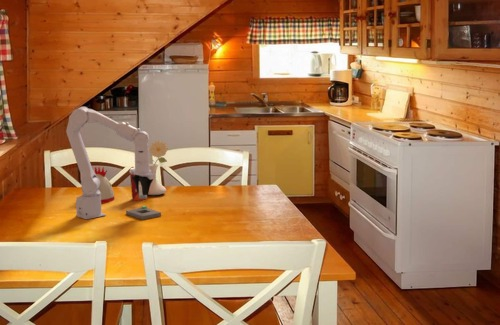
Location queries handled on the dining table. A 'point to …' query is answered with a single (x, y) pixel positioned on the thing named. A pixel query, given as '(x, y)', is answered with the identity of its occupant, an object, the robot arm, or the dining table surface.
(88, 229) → the dining table surface
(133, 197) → the paper cup
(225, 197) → the dining table surface
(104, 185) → the kitchen timer
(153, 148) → the flower in vase
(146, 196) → the battery cell
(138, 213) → the block
